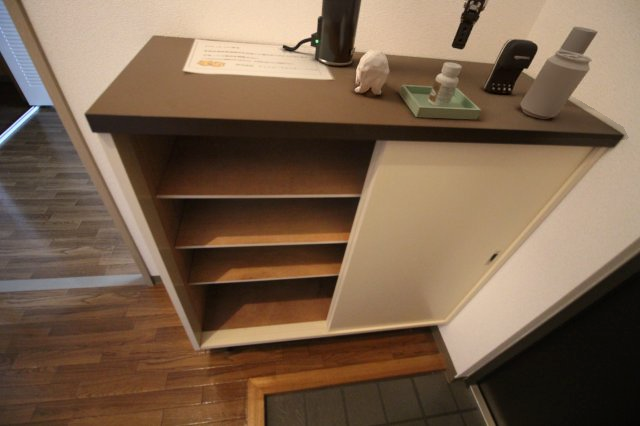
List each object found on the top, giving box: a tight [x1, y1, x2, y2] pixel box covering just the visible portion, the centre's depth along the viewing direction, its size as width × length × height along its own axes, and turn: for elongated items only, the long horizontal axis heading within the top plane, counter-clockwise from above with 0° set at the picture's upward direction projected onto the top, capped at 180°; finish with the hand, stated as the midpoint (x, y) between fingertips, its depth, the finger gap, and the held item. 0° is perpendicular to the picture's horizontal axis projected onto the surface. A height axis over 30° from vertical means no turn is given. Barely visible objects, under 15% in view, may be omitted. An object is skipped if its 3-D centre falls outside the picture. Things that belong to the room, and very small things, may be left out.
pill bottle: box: [428, 61, 463, 107], centre depth 58 cm, size 4×4×8 cm
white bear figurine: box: [354, 49, 390, 96], centre depth 62 cm, size 6×8×12 cm
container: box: [558, 26, 598, 55], centre depth 65 cm, size 5×5×15 cm
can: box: [520, 50, 593, 120], centre depth 60 cm, size 8×8×12 cm
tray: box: [399, 84, 482, 121], centre depth 60 cm, size 13×11×2 cm
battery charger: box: [483, 38, 539, 95], centre depth 67 cm, size 7×4×11 cm, turn 92°
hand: (459, 42), depth 53 cm, fingers open, 8 cm apart
